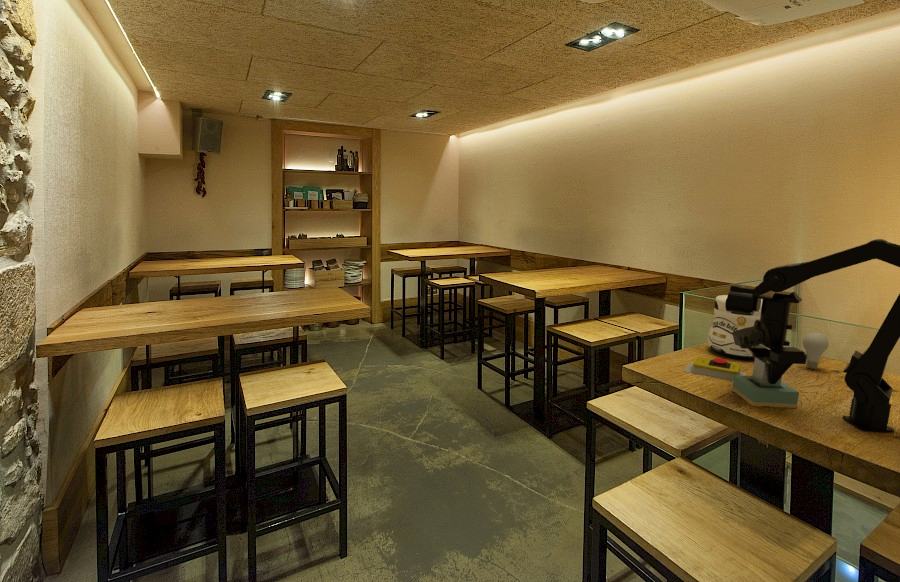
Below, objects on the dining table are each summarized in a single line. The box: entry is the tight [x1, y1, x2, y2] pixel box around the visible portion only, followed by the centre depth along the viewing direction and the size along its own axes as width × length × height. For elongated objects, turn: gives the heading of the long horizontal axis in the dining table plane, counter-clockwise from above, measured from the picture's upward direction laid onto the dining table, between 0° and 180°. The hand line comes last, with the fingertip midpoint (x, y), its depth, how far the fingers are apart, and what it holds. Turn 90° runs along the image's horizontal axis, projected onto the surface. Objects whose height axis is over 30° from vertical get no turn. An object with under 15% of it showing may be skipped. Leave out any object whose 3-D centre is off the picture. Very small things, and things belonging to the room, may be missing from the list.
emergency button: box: [683, 356, 747, 382], centre depth 138 cm, size 9×4×15 cm
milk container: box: [707, 294, 763, 359], centre depth 154 cm, size 17×17×18 cm
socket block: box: [731, 375, 800, 409], centre depth 119 cm, size 10×10×4 cm
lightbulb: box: [802, 332, 830, 370], centre depth 141 cm, size 6×6×11 cm
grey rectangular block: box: [751, 357, 783, 388], centre depth 118 cm, size 4×4×9 cm
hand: (765, 379), depth 119 cm, fingers open, 5 cm apart
